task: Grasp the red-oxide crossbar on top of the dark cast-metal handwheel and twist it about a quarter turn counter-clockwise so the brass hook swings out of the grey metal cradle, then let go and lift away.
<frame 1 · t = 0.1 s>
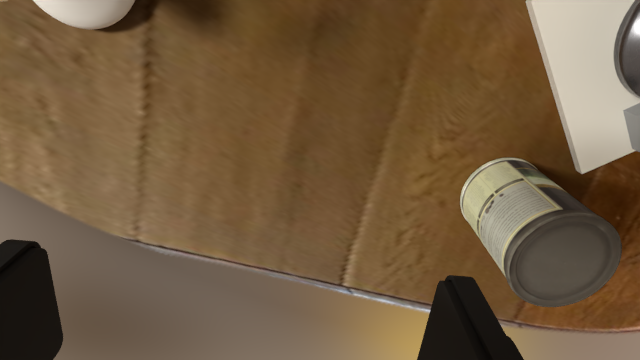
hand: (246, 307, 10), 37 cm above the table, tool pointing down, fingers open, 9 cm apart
coffee can: (500, 194, 51), on the table
pedestal: (631, 30, 43), on the table
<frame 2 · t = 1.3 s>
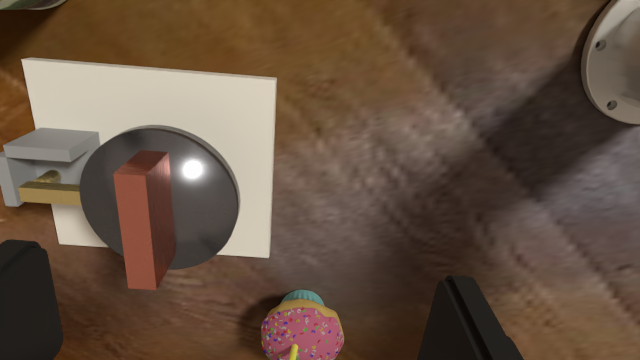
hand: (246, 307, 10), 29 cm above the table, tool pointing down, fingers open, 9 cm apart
cupcake: (303, 304, 46), on the table
handwheel: (124, 207, 31), point 9 cm above the table, hinge at 0.0°
pedestal: (189, 166, 39), on the table
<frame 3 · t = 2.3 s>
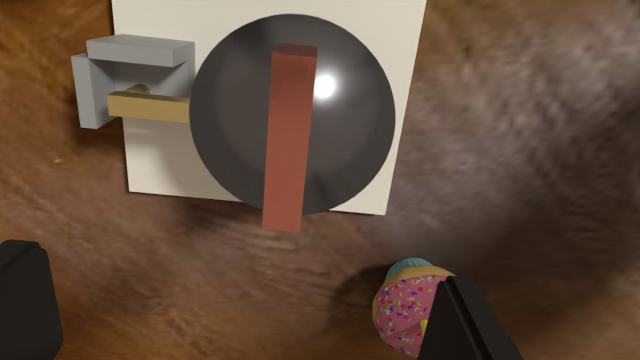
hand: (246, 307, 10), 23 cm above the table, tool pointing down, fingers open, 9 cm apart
cupcake: (412, 276, 39), on the table
handwheel: (249, 124, 23), point 9 cm above the table, hinge at 0.0°
pedestal: (299, 94, 31), on the table
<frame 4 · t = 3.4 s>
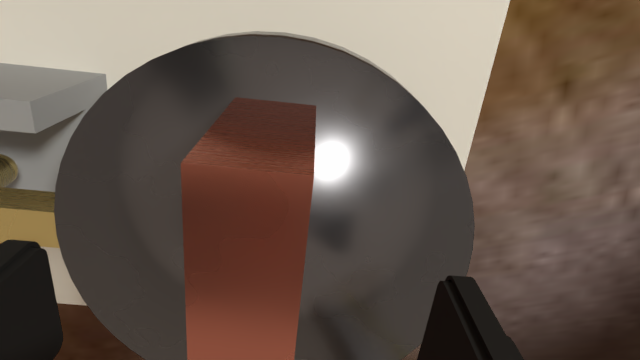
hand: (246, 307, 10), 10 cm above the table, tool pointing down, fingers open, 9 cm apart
handwheel: (176, 259, 11), point 9 cm above the table, hinge at 0.0°
pedestal: (286, 155, 19), on the table
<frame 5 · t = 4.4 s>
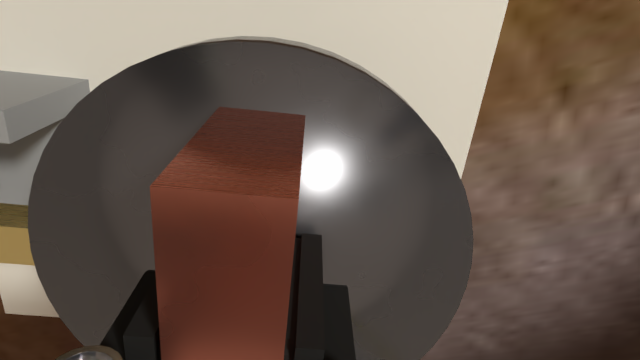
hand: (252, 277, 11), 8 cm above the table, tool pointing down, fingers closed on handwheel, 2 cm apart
handwheel: (158, 277, 11), point 9 cm above the table, hinge at 0.0°, touching gripper
pedestal: (278, 162, 19), on the table
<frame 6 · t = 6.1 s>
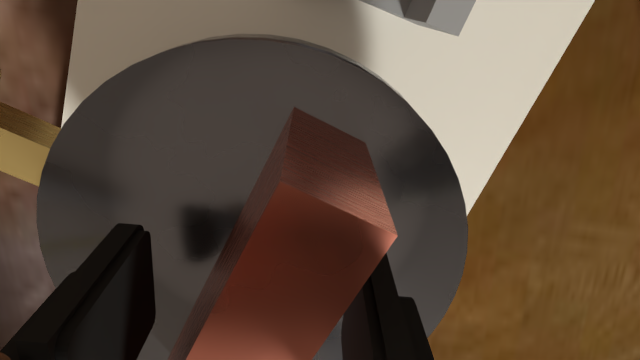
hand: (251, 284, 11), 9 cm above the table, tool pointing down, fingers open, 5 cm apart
handwheel: (168, 240, 11), point 9 cm above the table, hinge at 83.2°
pedestal: (278, 158, 19), on the table
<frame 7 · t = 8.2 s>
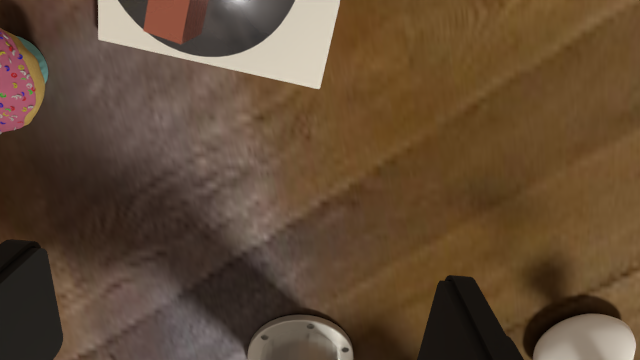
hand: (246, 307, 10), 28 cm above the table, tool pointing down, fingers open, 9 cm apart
flower in vase: (568, 337, 50), on the table
cupcake: (21, 66, 35), on the table
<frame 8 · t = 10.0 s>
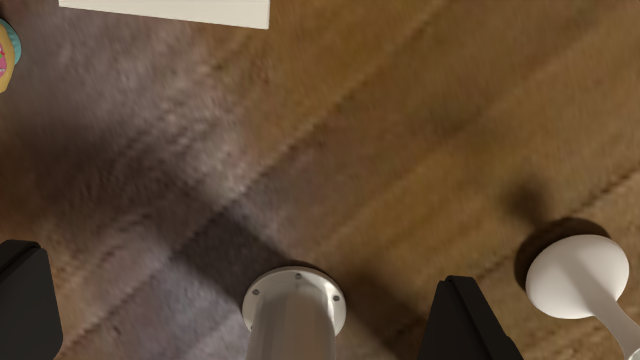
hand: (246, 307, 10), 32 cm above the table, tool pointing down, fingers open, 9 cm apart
flower in vase: (560, 265, 49), on the table
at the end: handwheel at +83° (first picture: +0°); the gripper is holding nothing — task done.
